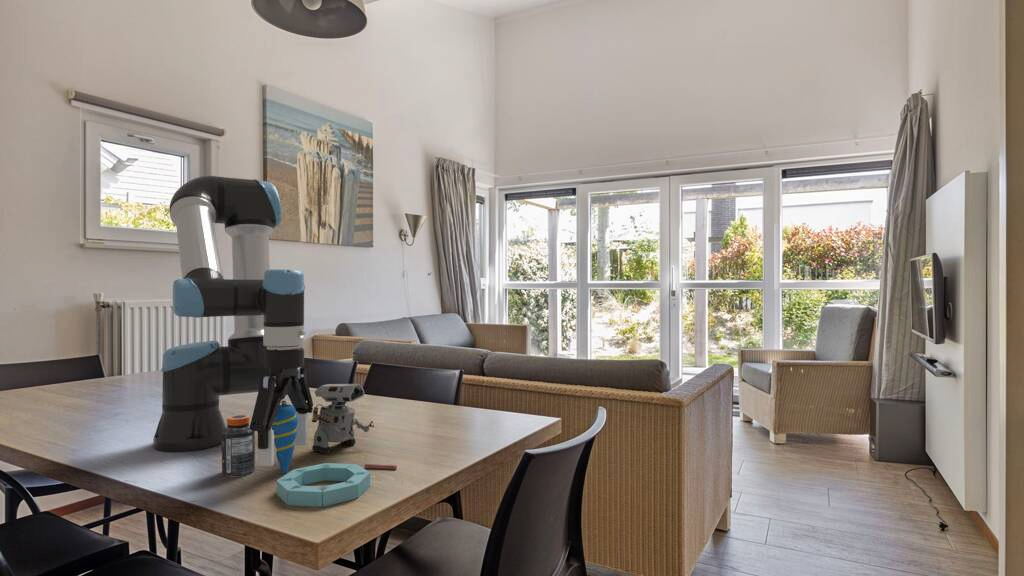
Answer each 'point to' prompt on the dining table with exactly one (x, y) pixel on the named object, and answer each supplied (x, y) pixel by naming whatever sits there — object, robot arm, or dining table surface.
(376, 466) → the reddish pink rod
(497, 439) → the dining table surface
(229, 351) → the robot arm
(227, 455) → the pill bottle
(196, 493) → the dining table surface
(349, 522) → the dining table surface
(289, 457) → the ornament
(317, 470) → the teal octagonal ring
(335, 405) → the figurine
